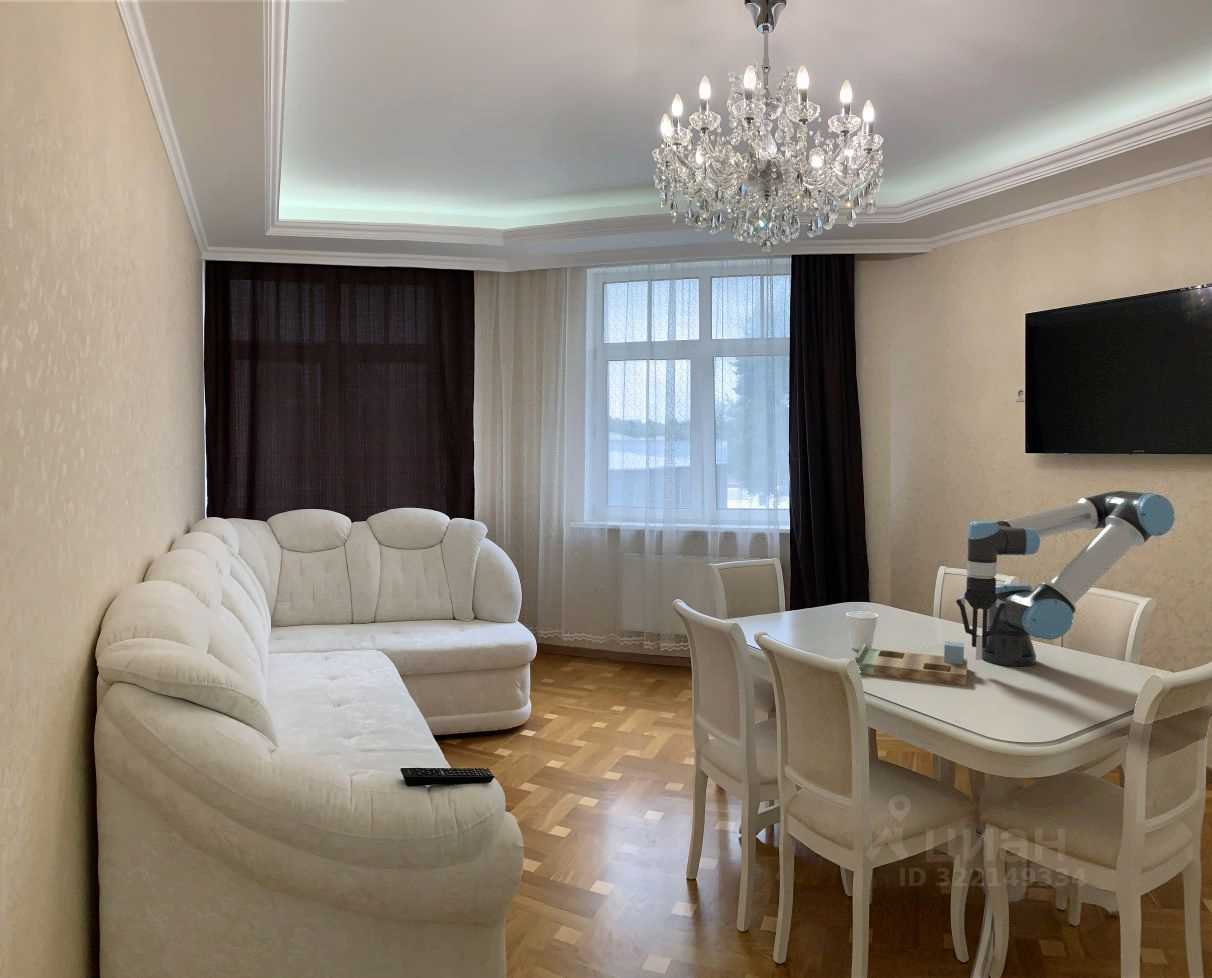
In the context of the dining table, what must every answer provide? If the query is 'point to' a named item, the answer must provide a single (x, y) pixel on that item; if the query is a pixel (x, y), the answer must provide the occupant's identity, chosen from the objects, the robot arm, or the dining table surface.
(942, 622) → the dining table surface
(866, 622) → the cup
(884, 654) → the board
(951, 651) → the block
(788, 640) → the dining table surface
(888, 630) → the dining table surface
